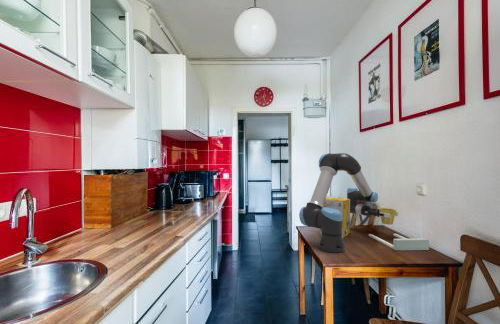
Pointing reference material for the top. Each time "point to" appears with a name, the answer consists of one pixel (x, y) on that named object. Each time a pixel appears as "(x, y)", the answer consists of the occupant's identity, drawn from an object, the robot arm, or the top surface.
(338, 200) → the packaging box
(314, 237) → the top surface
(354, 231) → the top surface
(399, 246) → the guide track
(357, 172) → the robot arm
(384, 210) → the plant pot
